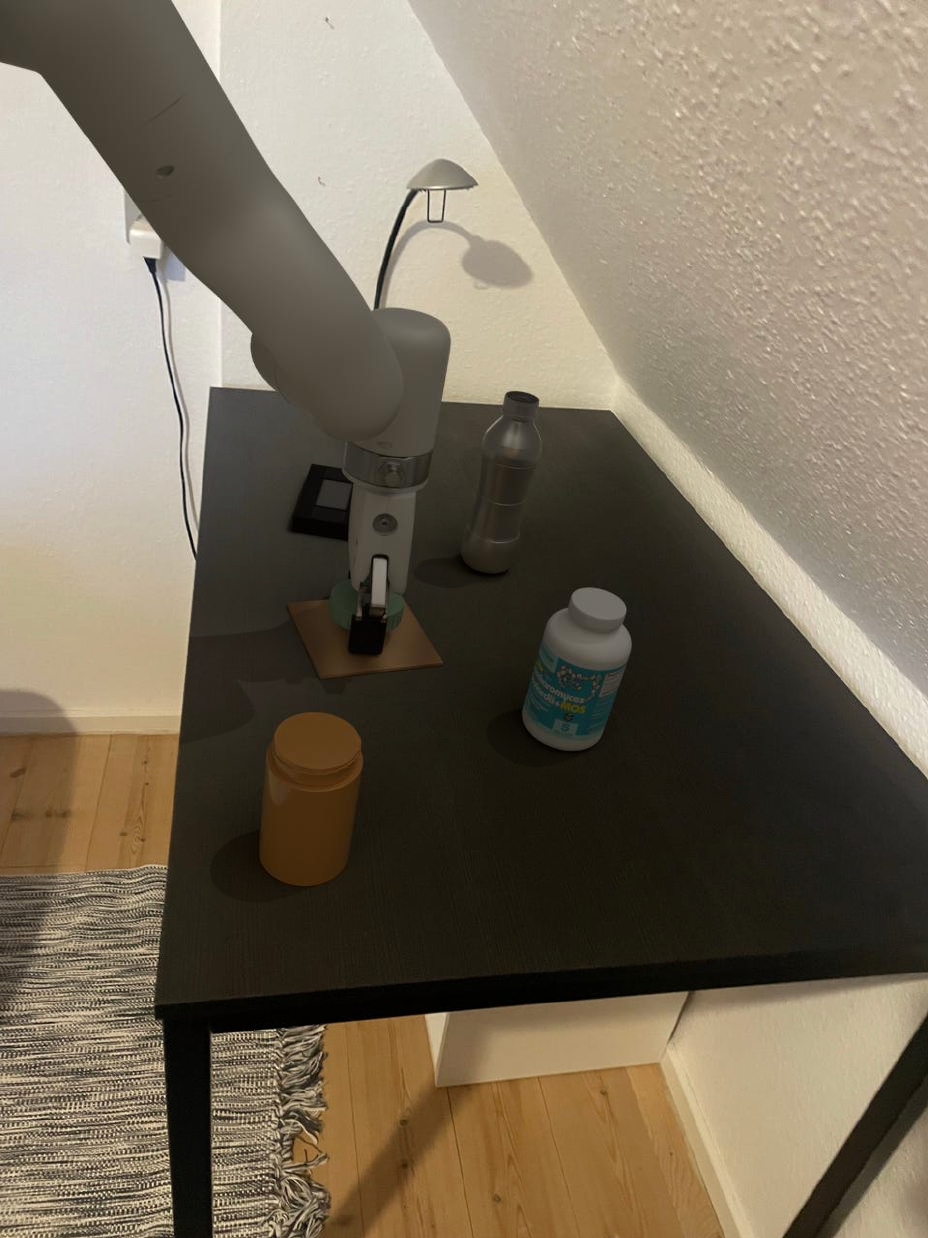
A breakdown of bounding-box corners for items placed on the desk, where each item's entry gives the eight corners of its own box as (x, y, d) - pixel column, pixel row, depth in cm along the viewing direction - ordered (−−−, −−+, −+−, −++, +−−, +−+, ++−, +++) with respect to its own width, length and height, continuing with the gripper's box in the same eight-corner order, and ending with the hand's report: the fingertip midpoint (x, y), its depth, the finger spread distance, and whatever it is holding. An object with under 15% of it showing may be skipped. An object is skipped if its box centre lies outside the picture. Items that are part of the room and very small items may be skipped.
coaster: (319, 679, 84) (320, 675, 84) (286, 605, 93) (286, 602, 93) (442, 665, 89) (443, 662, 89) (400, 597, 98) (400, 593, 98)
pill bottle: (503, 721, 84) (536, 593, 77) (553, 691, 89) (588, 569, 82) (569, 767, 80) (610, 638, 73) (617, 733, 85) (659, 609, 78)
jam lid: (404, 601, 93) (407, 585, 92) (398, 640, 87) (401, 623, 86) (333, 588, 93) (336, 571, 92) (322, 626, 87) (325, 609, 86)
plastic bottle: (445, 561, 106) (477, 391, 95) (482, 545, 111) (517, 381, 100) (489, 587, 103) (527, 414, 92) (525, 569, 108) (566, 403, 97)
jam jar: (260, 889, 64) (270, 774, 58) (256, 820, 69) (264, 708, 64) (354, 883, 66) (372, 771, 60) (343, 817, 71) (359, 707, 65)
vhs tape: (370, 487, 118) (371, 473, 117) (358, 542, 106) (360, 526, 105) (310, 478, 118) (311, 463, 117) (291, 531, 106) (292, 515, 105)
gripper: (442, 510, 75) (409, 687, 85) (420, 424, 89) (394, 584, 99) (347, 500, 73) (324, 682, 83) (340, 415, 88) (321, 578, 97)
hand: (362, 627), depth 91 cm, fingers closed on jam lid, 6 cm apart
